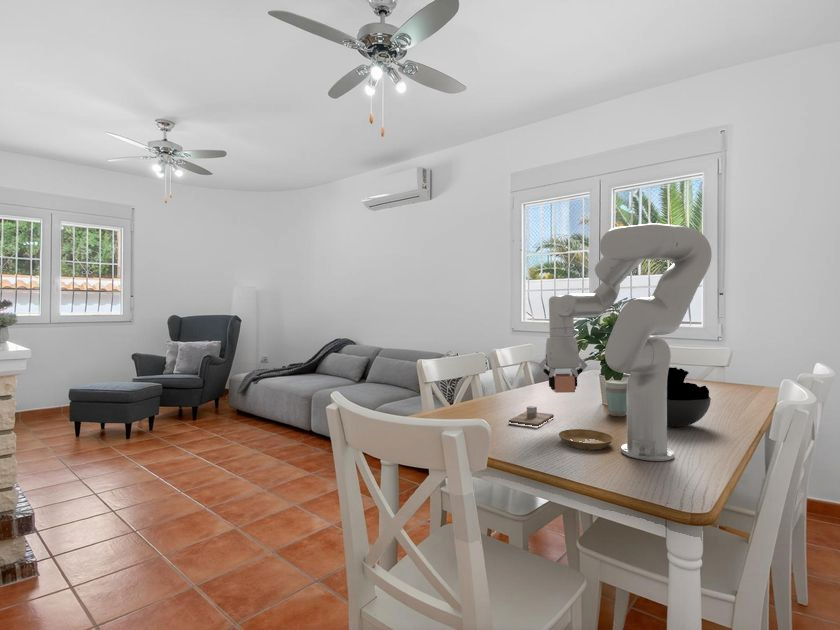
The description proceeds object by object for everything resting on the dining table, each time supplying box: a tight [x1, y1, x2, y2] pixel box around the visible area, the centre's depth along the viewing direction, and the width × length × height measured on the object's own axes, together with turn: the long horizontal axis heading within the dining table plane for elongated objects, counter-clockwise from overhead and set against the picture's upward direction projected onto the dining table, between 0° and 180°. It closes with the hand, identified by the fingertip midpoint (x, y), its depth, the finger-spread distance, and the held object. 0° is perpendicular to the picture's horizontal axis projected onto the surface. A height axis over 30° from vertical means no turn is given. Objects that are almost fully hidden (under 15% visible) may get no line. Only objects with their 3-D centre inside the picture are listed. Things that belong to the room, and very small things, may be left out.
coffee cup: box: [604, 379, 628, 417], centre depth 165 cm, size 8×9×12 cm
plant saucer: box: [558, 428, 615, 450], centre depth 130 cm, size 15×15×3 cm
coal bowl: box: [667, 366, 712, 427], centre depth 149 cm, size 20×20×19 cm
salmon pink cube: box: [552, 373, 576, 394], centre depth 147 cm, size 6×6×6 cm
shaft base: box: [508, 405, 555, 426], centre depth 157 cm, size 16×10×5 cm, turn 145°
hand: (563, 388), depth 147 cm, fingers closed on salmon pink cube, 6 cm apart
